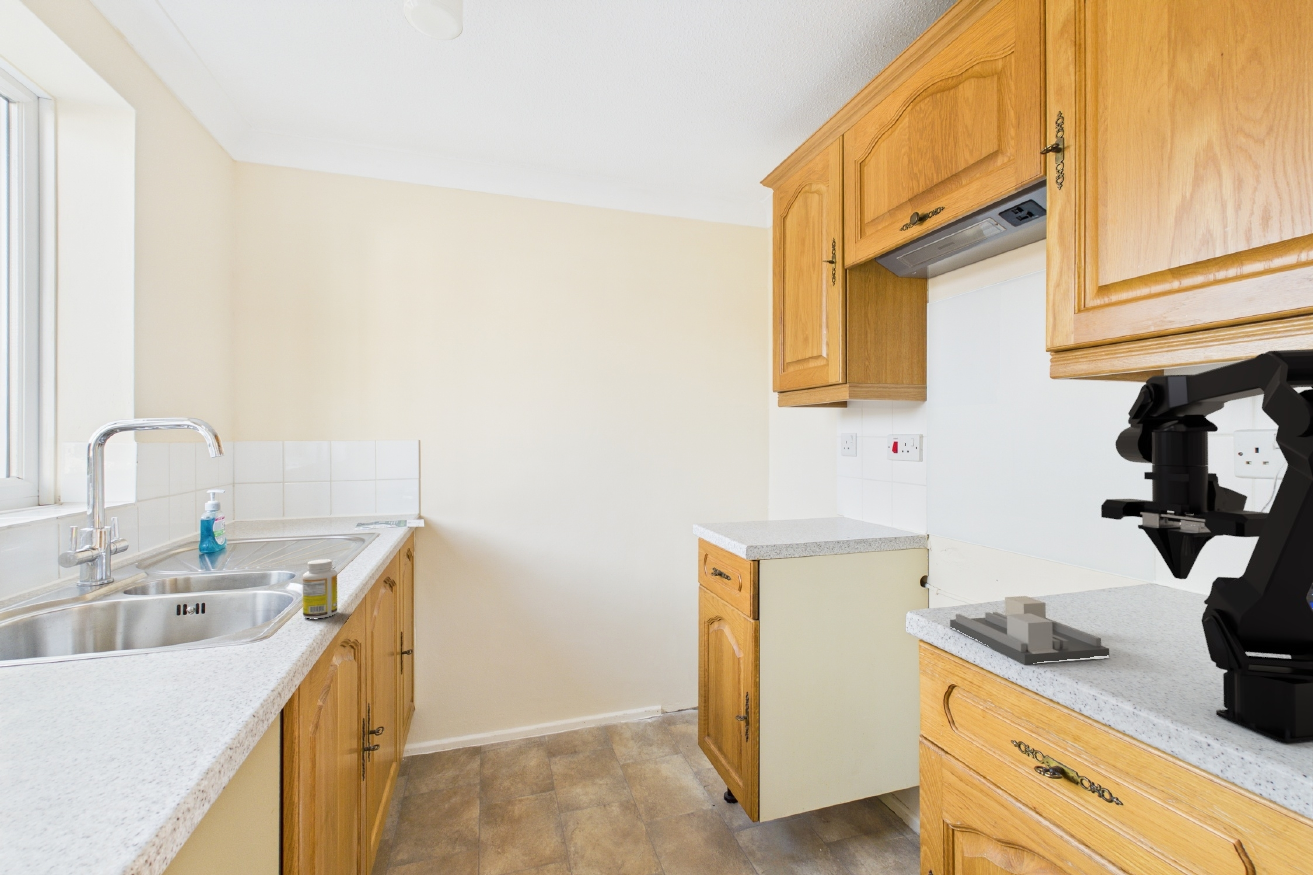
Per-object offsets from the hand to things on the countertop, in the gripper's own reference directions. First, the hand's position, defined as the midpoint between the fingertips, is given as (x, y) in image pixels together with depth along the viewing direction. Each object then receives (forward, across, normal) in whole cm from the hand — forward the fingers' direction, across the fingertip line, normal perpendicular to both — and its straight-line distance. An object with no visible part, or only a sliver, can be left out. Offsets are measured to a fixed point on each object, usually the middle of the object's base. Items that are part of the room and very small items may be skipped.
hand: (1180, 578), depth 78 cm
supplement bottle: (+13, +48, +129) cm, 139 cm away
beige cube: (+11, +18, +8) cm, 23 cm away
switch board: (+13, +14, +12) cm, 22 cm away
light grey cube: (+11, +9, +16) cm, 21 cm away
